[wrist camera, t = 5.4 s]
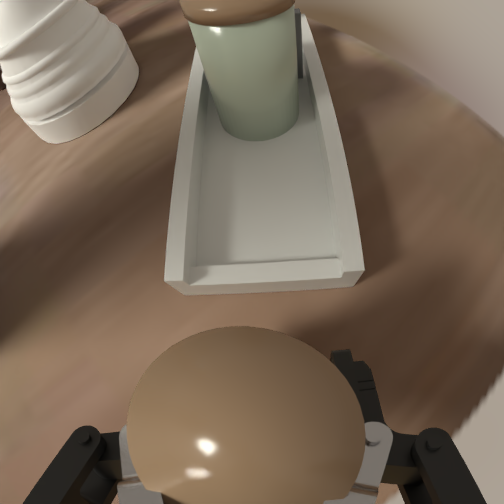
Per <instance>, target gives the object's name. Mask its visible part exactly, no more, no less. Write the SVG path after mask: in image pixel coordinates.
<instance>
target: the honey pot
mask: <svg viewBox="0 0 504 504" xmlns="http://www.w3.org/2000/svg"><path fill="white" fill-rule="evenodd" d="M0 66H1V69H2V79H3V82H4V83H5V84H6V88H7V91H8V94H9V96H11V103H12V106H13V109H14V110H15V112H16V113H18V114H19V115H20V117H21V118H22V119H24V122H25V123H26V124H27V125H28V126H29V127H30V128H31V129H32V130H33V131H34V132H35V133H36V134H37V135H38V136H39V137H40V138H41V139H43V140H44V141H46V142H47V143H55V144H59V143H63V142H68V141H71V140H73V139H75V138H78V137H80V136H82V135H84V134H86V133H88V132H89V131H91V130H92V129H94V128H95V127H97V126H99V125H100V124H101V123H102V122H104V121H105V120H106V119H107V118H108V117H110V116H111V115H112V114H113V113H114V112H115V111H116V110H117V109H118V108H119V107H120V106H121V105H122V104H123V103H124V102H125V101H126V99H127V98H128V96H129V95H130V93H131V92H132V90H133V89H134V87H135V84H136V82H137V79H138V76H139V67H138V65H137V63H136V61H135V59H134V57H133V55H132V53H131V50H130V48H129V46H128V44H127V42H126V40H125V38H124V36H123V34H122V32H121V30H120V28H119V27H118V26H117V24H115V23H112V22H110V21H108V18H107V17H106V16H105V15H103V14H101V13H100V12H99V10H98V8H97V7H96V6H93V5H90V4H89V3H88V2H86V1H85V0H0Z"/></svg>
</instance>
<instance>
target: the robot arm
mask: <svg viewBox="0 0 504 504" xmlns="http://www.w3.org/2000/svg"><path fill="white" fill-rule="evenodd" d="M331 362H332V363H333V364H334V365H335V366H336V367H337V368H338V370H339V371H340V372H341V373H342V374H343V376H344V377H345V378H346V379H347V381H348V383H349V384H350V386H351V388H352V389H353V391H354V393H355V395H356V397H357V400H358V402H359V404H360V407H361V411H362V415H363V418H364V425H365V434H366V438H365V452H364V457H363V462H362V466H361V468H360V471H359V474H358V477H357V479H356V481H355V483H354V484H353V486H352V488H351V490H350V491H349V493H348V494H347V495H346V497H345V498H344V499H337V500H327V501H324V503H323V504H375V502H376V499H377V495H378V488H379V485H380V483H388V484H397V485H398V488H399V490H400V493H401V495H402V498H403V500H404V502H405V504H487V503H486V501H485V500H484V498H483V496H482V494H481V492H480V490H479V488H478V486H477V484H476V482H475V480H474V479H473V477H472V475H471V473H470V471H469V469H468V467H467V465H466V464H465V462H464V460H463V458H462V457H461V455H460V453H459V451H458V449H457V448H456V446H455V444H454V442H453V441H452V439H451V437H450V436H449V434H448V433H447V432H446V431H444V430H442V429H439V428H428V429H425V430H423V431H422V432H421V433H420V434H419V435H409V434H401V433H397V432H395V431H393V430H391V429H390V428H389V427H388V426H387V425H386V423H385V422H384V419H383V415H382V411H381V407H380V403H379V399H378V395H377V391H376V387H375V383H374V381H373V380H374V379H373V376H372V372H371V369H370V368H369V367H368V366H367V364H366V363H365V362H364V361H356V362H353V359H352V355H351V351H350V349H347V350H336V351H331ZM126 425H127V424H126ZM126 425H125V426H124V427H123V428H122V429H121V431H120V432H113V433H102V434H100V432H99V431H98V430H97V429H96V428H95V427H92V426H82V427H80V428H78V429H76V430H75V431H74V432H73V433H72V435H71V436H70V437H69V439H68V440H67V442H66V443H65V444H64V446H63V447H62V448H61V450H60V451H59V453H58V454H57V455H56V457H55V458H54V460H53V461H52V462H51V464H50V465H49V467H48V468H47V469H46V471H45V472H44V474H43V475H42V476H41V478H40V479H39V481H38V482H37V484H36V485H35V486H34V488H33V489H32V491H31V492H30V494H29V495H28V497H27V498H26V499H25V501H24V502H23V504H111V503H112V501H113V500H114V498H115V496H116V494H117V493H118V498H119V504H166V503H165V501H164V499H163V497H162V494H161V493H160V492H155V491H150V490H146V489H145V487H144V485H143V484H142V482H141V480H140V479H139V477H138V475H137V473H136V471H135V468H134V466H133V463H132V460H131V457H130V453H129V449H128V443H127V427H126Z"/></svg>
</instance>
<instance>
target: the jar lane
mask: <svg viewBox="0 0 504 504" xmlns="http://www.w3.org/2000/svg"><path fill="white" fill-rule="evenodd" d="M301 28H302V54H303V78H300V79H298V93H299V116H298V119H297V121H296V123H295V124H294V126H293V127H292V128H291V129H290V130H289V131H287V132H286V133H284V134H283V135H281V136H279V137H276V138H273V139H270V140H265V141H245V140H241V139H238V138H235V137H233V136H231V135H230V134H228V133H227V132H226V131H225V130H224V128H223V127H222V125H221V122H220V119H219V116H218V113H217V110H216V106H215V103H214V100H213V97H212V94H211V91H210V88H209V84H208V81H207V78H206V75H205V72H204V69H203V66H202V62H201V59H200V56H199V53H198V50H197V47H196V49H195V54H194V59H193V64H192V68H191V73H190V78H189V84H188V89H187V94H186V100H185V105H184V111H183V117H182V123H181V129H180V136H179V143H178V149H177V156H176V164H175V171H174V179H173V187H172V196H171V205H170V214H169V224H168V235H167V247H166V260H165V274H164V281H165V282H166V283H167V284H169V285H170V286H172V287H173V288H175V289H176V290H178V291H179V292H181V293H182V294H184V295H213V294H240V293H262V292H281V291H299V290H315V289H330V288H344V287H353V286H354V285H355V283H356V282H357V281H358V279H359V278H360V276H361V275H362V273H363V272H364V271H365V268H364V261H363V253H362V246H361V239H360V233H359V226H358V220H357V214H356V208H355V203H354V197H353V192H352V186H351V181H350V176H349V171H348V166H347V162H346V157H345V152H344V148H343V144H342V139H341V135H340V131H339V127H338V123H337V119H336V115H335V111H334V107H333V103H332V99H331V96H330V92H329V88H328V85H327V81H326V78H325V75H324V71H323V68H322V65H321V61H320V58H319V55H318V52H317V49H316V45H315V42H314V39H313V36H312V33H311V31H310V28H309V25H308V22H307V19H306V16H305V14H301Z"/></svg>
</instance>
